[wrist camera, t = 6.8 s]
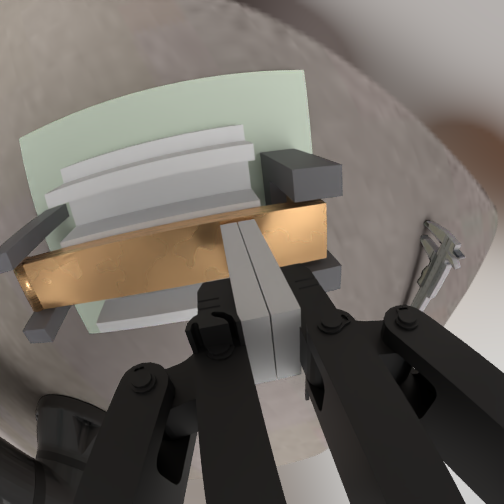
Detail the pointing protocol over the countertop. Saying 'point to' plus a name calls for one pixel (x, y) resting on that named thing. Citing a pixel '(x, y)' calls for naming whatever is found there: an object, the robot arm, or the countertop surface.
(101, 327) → the processor board
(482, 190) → the countertop surface
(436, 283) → the caliper
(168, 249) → the bar
